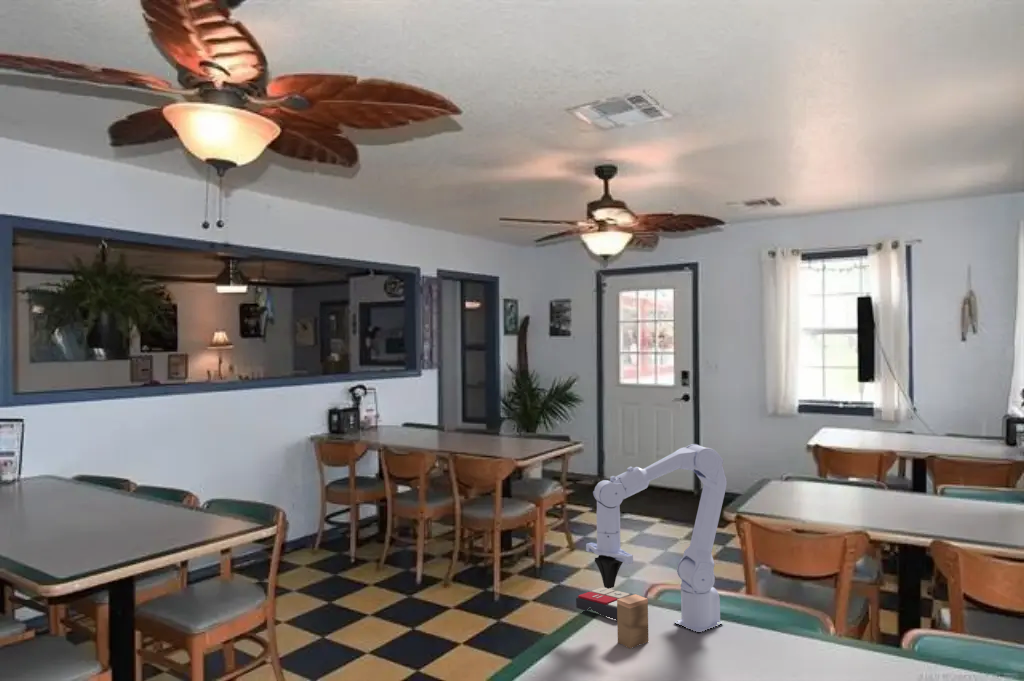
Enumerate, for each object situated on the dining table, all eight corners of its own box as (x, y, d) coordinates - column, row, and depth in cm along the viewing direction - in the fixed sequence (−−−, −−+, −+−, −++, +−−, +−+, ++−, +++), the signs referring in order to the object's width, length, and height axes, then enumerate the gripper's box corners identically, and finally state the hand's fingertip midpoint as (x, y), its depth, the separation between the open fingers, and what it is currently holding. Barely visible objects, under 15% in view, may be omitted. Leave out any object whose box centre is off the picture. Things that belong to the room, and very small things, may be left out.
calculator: (601, 585, 192) (645, 595, 181) (602, 601, 192) (646, 612, 181) (574, 594, 185) (619, 605, 174) (575, 611, 184) (620, 623, 173)
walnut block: (636, 636, 164) (635, 594, 165) (648, 642, 161) (647, 598, 161) (617, 642, 161) (617, 599, 161) (630, 648, 158) (629, 604, 158)
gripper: (576, 527, 172) (577, 582, 172) (617, 539, 161) (618, 598, 160) (597, 523, 176) (598, 577, 176) (639, 534, 165) (639, 592, 164)
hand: (609, 587), depth 168 cm, fingers closed
